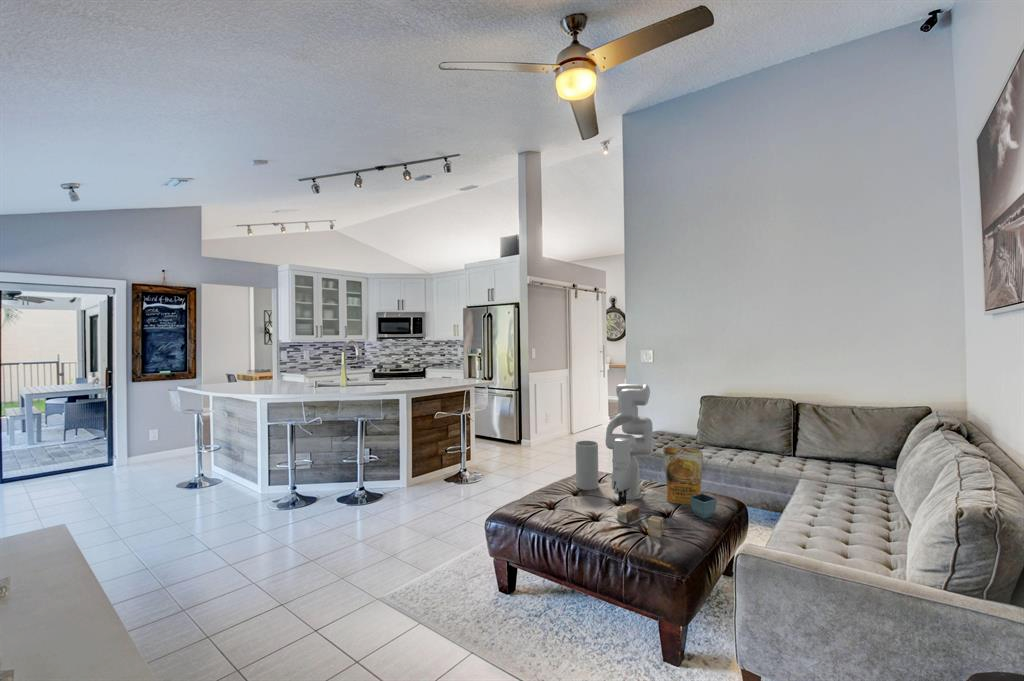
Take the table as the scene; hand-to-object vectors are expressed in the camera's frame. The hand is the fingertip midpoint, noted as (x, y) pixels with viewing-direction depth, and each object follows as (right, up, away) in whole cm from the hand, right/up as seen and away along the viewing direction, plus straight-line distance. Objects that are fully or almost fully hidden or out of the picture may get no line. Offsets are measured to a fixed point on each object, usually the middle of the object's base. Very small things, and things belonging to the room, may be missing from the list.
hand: (622, 503), depth 226 cm
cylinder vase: (-9, -7, +48) cm, 50 cm away
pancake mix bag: (+36, -7, +22) cm, 43 cm away
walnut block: (-1, -6, 0) cm, 6 cm away
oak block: (+12, -9, -14) cm, 20 cm away
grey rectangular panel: (+5, -8, +4) cm, 10 cm away
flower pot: (+39, -8, +4) cm, 40 cm away
